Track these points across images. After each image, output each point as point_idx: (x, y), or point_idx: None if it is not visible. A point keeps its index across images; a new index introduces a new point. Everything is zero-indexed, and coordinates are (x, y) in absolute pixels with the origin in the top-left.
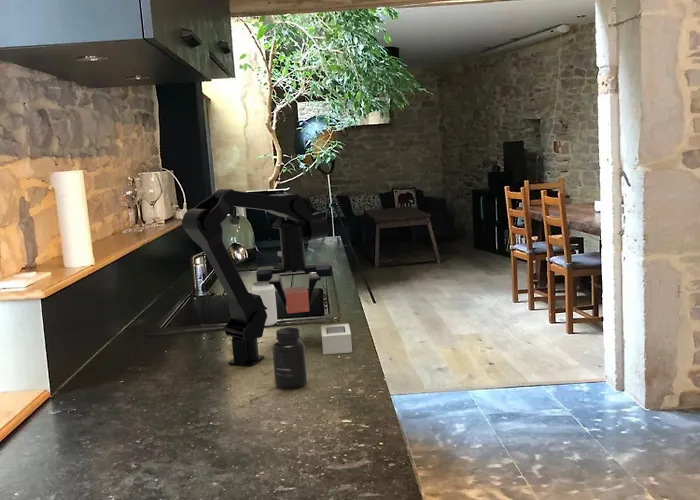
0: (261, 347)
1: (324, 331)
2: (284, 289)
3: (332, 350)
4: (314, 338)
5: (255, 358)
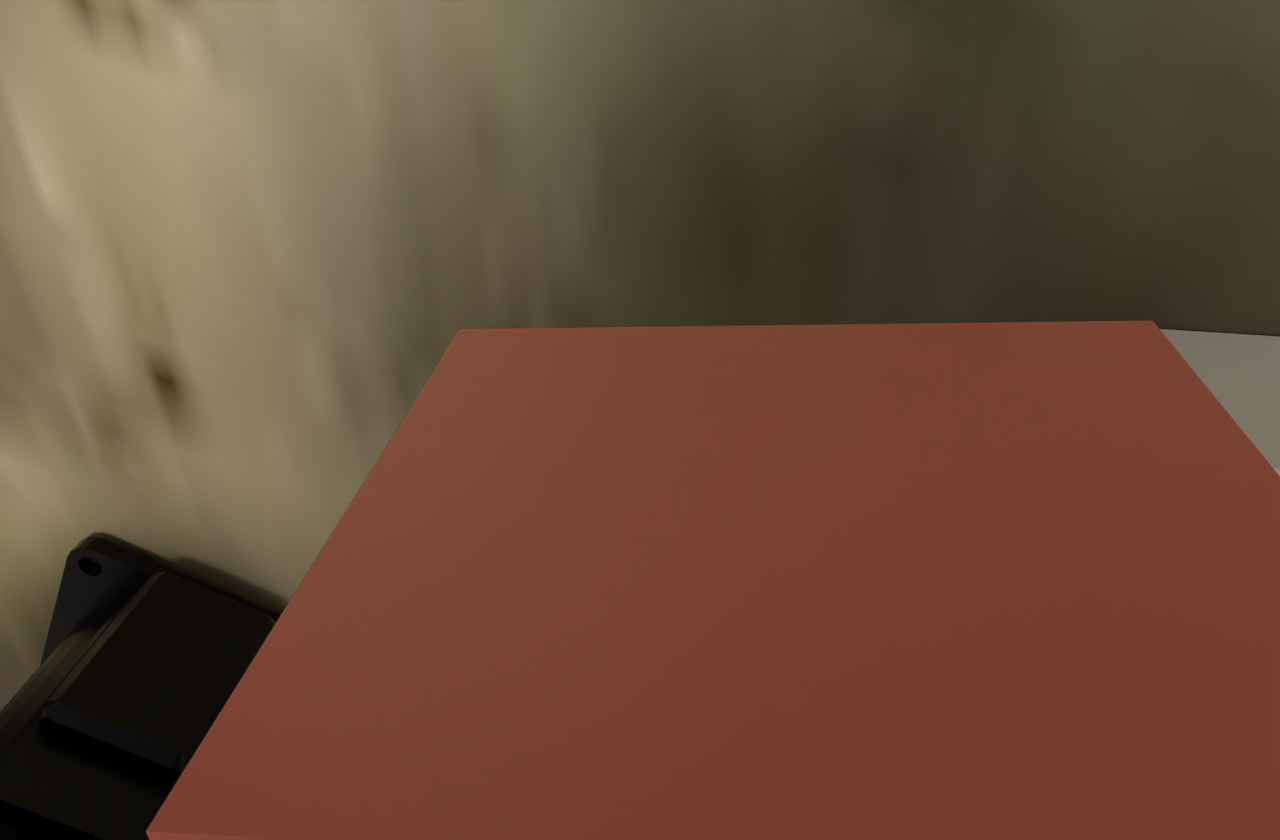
0: (233, 255)
1: None
2: (191, 775)
3: None
4: (1043, 37)
5: None
